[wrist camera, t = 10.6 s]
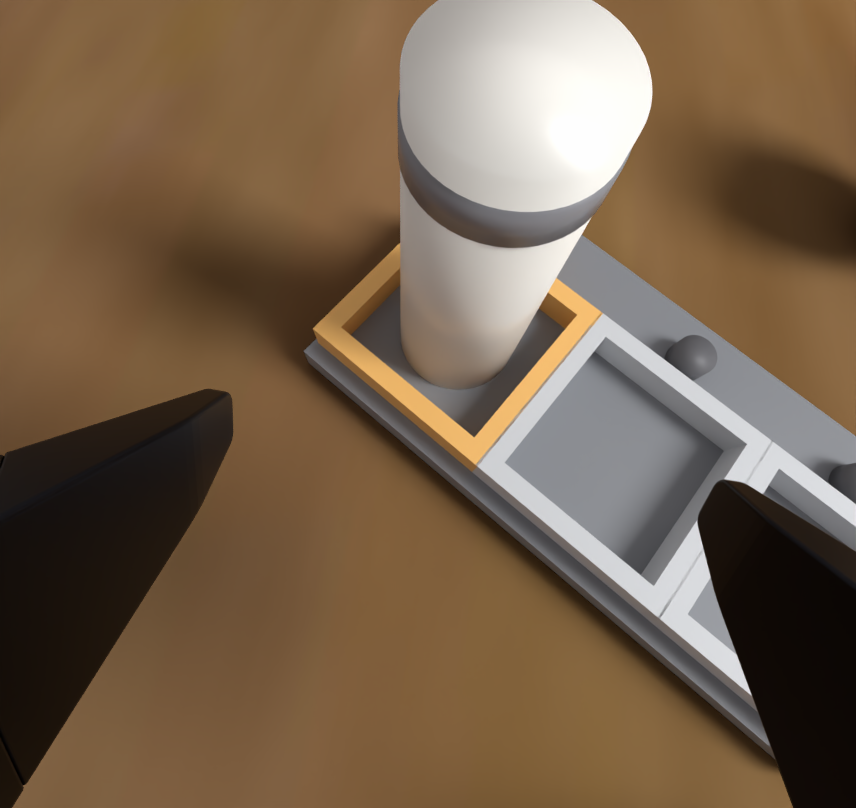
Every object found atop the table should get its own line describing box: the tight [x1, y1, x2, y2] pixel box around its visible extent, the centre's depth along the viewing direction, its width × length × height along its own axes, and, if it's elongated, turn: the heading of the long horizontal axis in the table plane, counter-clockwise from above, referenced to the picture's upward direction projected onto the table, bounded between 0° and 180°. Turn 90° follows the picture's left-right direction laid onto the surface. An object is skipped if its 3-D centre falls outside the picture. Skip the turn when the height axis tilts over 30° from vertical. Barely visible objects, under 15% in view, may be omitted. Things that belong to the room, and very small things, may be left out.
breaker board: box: [304, 235, 856, 759], centre depth 22 cm, size 13×26×3 cm, turn 50°
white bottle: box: [398, 0, 652, 390], centre depth 16 cm, size 5×5×13 cm
